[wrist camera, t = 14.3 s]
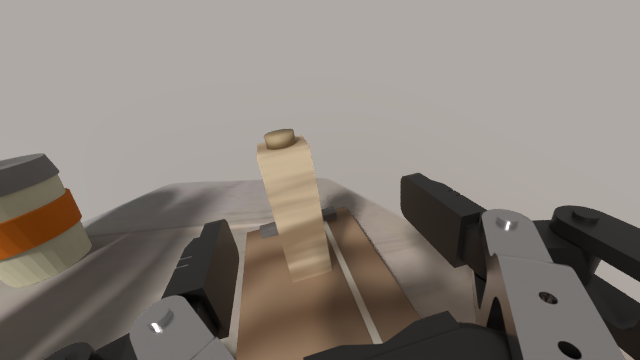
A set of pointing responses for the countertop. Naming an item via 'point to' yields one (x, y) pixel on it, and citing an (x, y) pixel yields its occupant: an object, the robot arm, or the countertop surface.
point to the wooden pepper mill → (294, 202)
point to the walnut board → (317, 296)
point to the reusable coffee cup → (37, 222)
